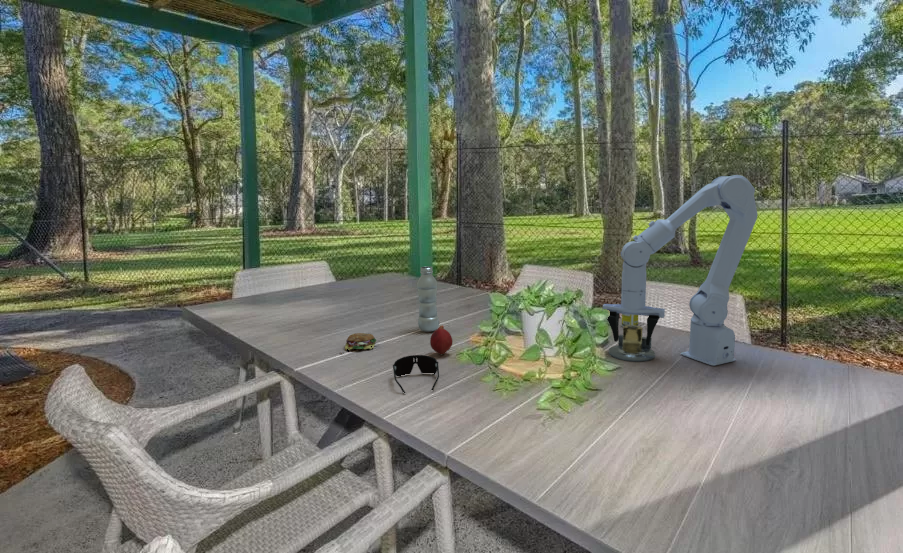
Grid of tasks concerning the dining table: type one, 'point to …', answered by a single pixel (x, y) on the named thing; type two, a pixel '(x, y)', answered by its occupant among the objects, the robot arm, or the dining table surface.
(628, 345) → the cylinder
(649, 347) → the flange seat
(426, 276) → the plastic bottle
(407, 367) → the sunglasses
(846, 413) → the dining table surface
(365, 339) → the hamburger
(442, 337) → the onion
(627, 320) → the supplement bottle
